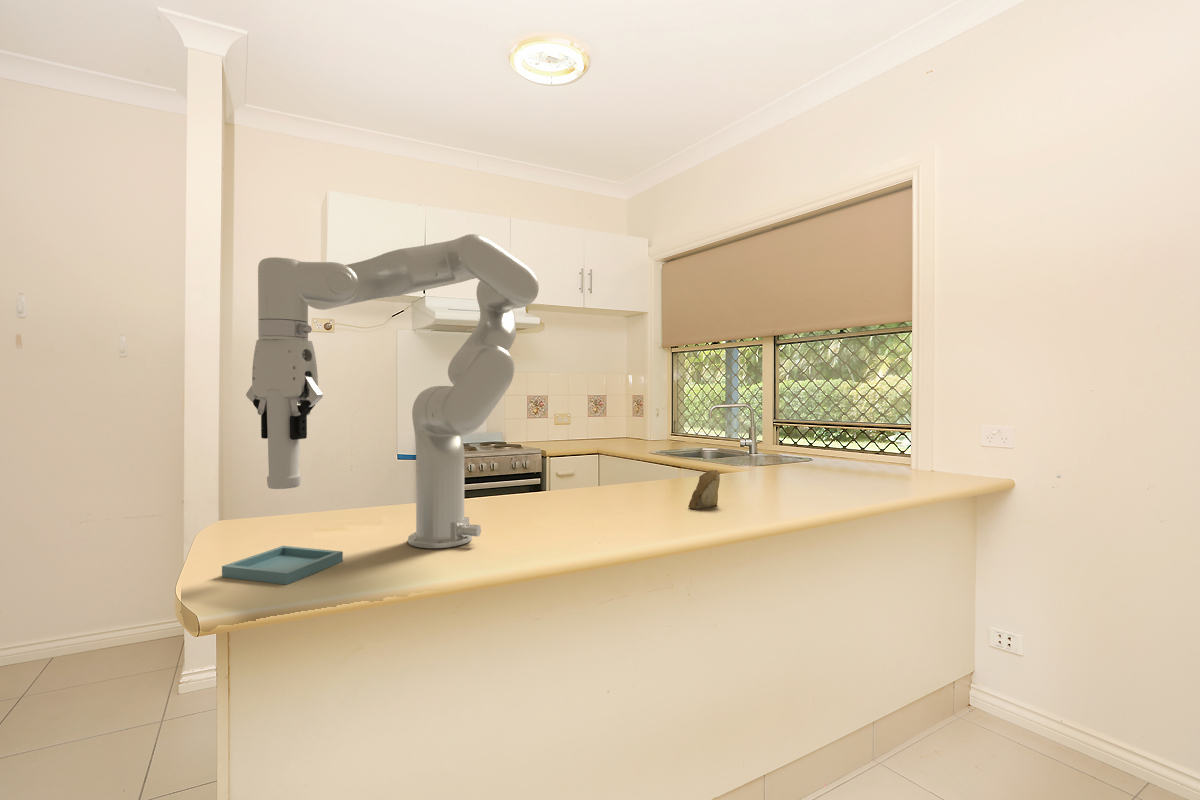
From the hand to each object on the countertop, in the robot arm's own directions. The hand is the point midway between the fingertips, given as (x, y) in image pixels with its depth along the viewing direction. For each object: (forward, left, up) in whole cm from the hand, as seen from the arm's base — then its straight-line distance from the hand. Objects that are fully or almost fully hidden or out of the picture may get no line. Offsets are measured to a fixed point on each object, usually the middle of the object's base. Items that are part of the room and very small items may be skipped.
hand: (284, 437), depth 102 cm
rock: (-64, -76, -23) cm, 102 cm away
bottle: (0, 0, -9) cm, 9 cm away
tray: (0, 0, -23) cm, 23 cm away
